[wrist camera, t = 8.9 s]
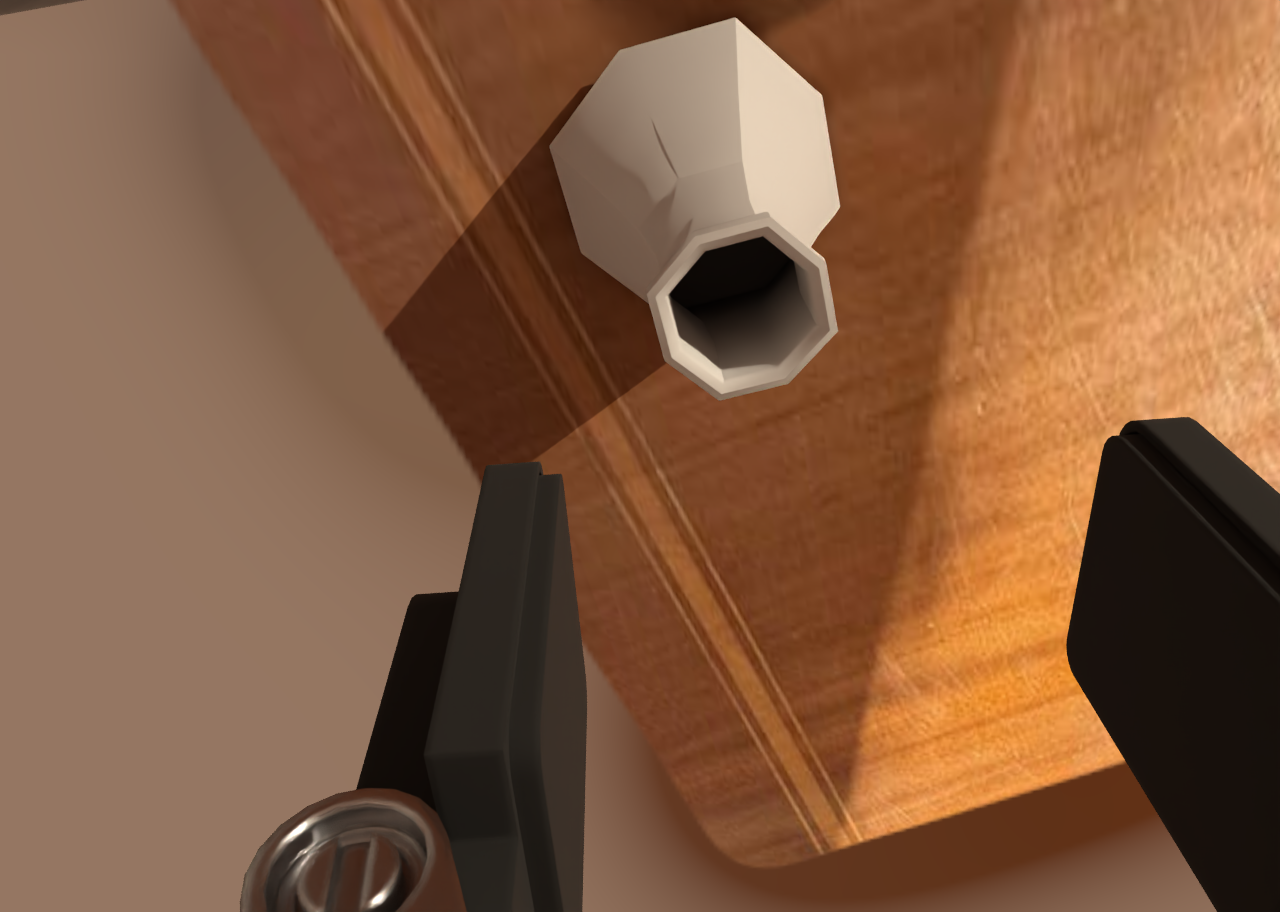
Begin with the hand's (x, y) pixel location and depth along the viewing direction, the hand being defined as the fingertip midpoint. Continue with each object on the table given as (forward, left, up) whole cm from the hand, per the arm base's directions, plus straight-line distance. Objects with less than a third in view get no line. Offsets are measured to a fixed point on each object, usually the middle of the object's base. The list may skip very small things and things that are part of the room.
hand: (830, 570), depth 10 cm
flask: (0, 0, -18) cm, 18 cm away
